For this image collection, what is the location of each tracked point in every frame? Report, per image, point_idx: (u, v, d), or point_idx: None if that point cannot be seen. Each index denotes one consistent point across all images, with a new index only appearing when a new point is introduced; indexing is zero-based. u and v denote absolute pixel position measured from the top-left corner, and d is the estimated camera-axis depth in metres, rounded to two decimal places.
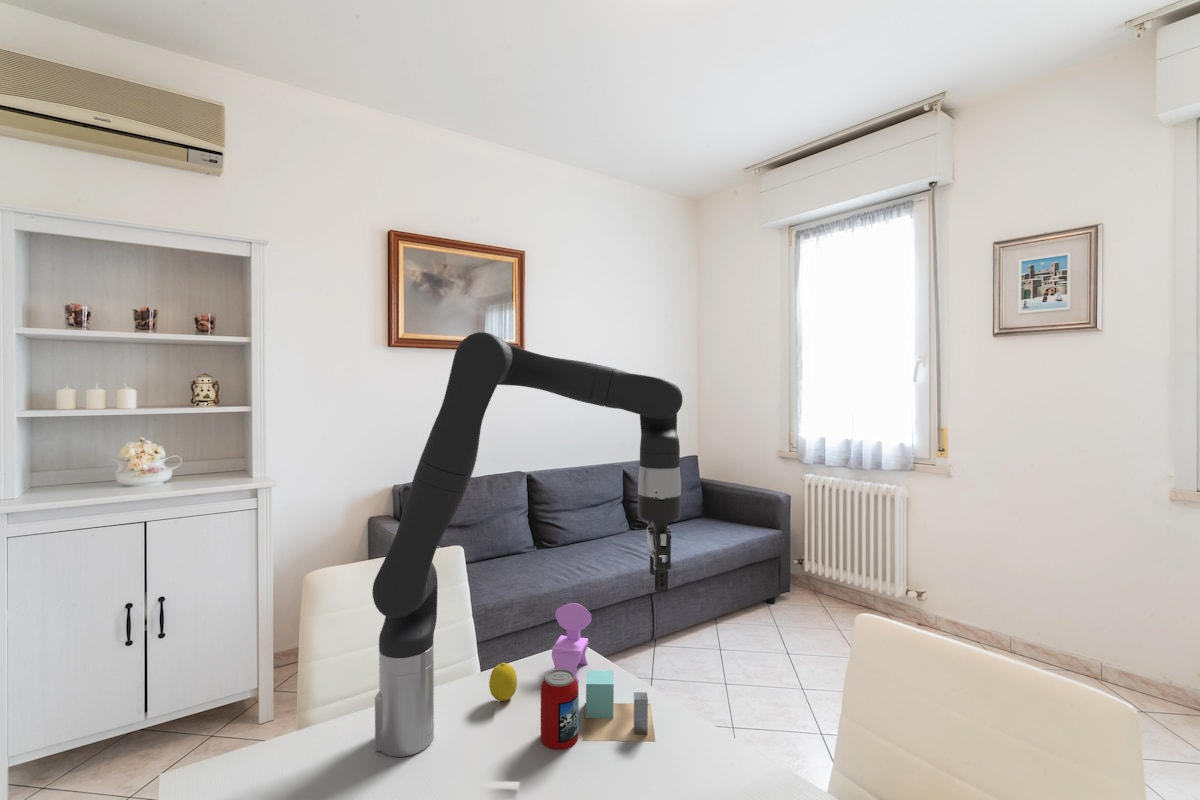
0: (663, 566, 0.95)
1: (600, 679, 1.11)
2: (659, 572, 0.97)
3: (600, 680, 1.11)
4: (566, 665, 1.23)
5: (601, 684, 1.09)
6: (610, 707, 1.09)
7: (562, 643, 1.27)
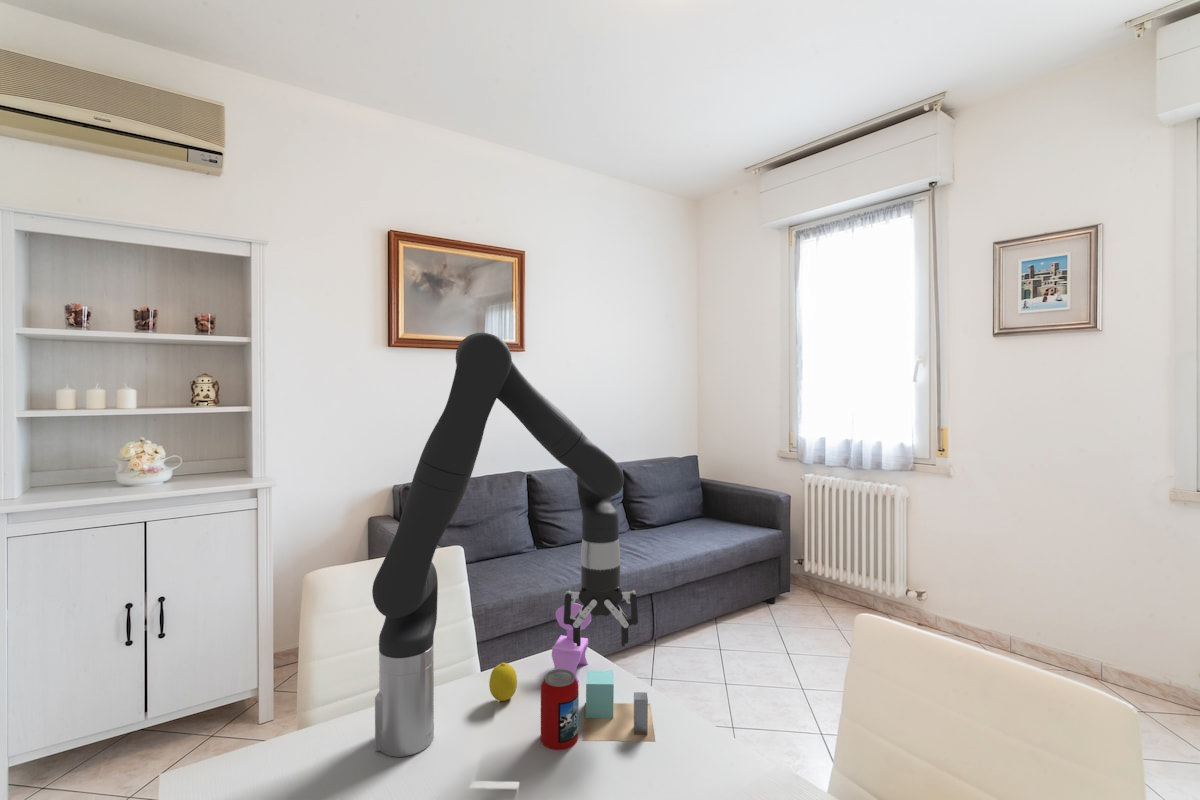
0: None
1: (600, 679, 1.11)
2: (628, 627, 1.11)
3: (600, 680, 1.11)
4: (566, 665, 1.23)
5: (601, 684, 1.09)
6: (610, 707, 1.09)
7: (562, 643, 1.27)
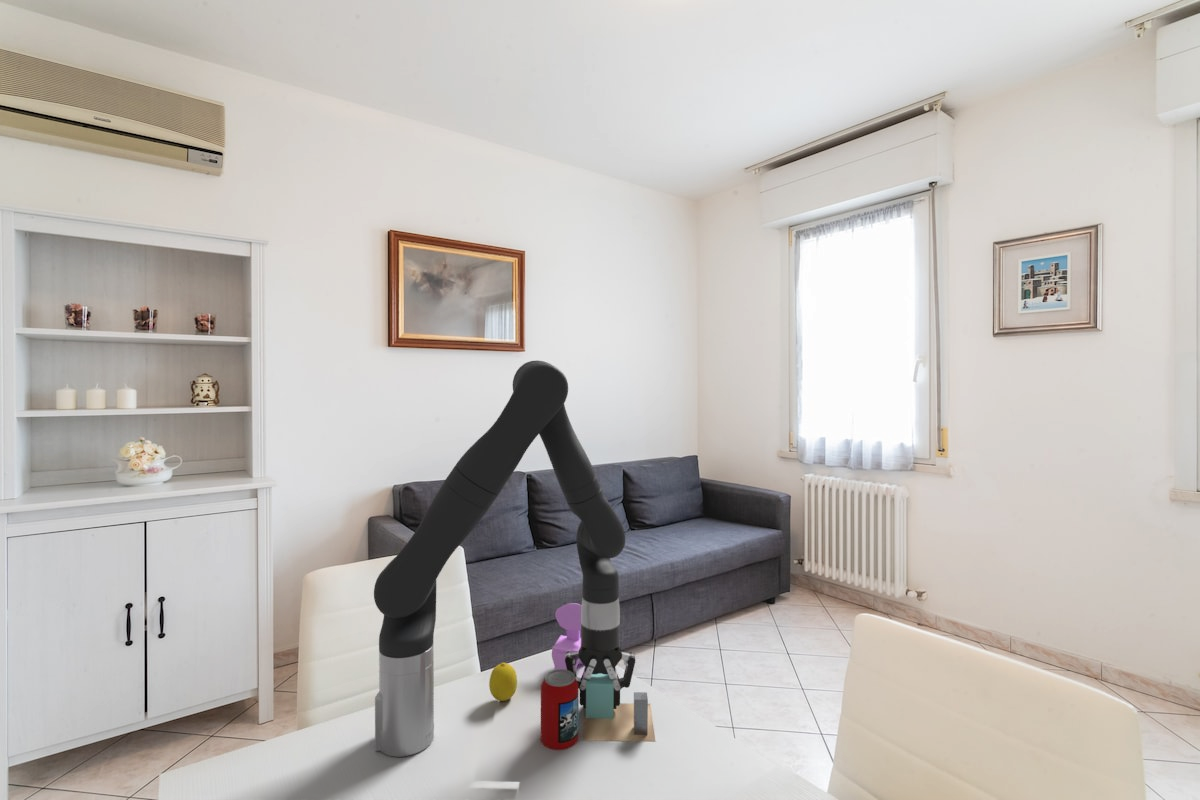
0: None
1: (600, 679, 1.11)
2: None
3: (600, 680, 1.11)
4: None
5: (601, 684, 1.09)
6: (610, 707, 1.09)
7: (562, 643, 1.27)
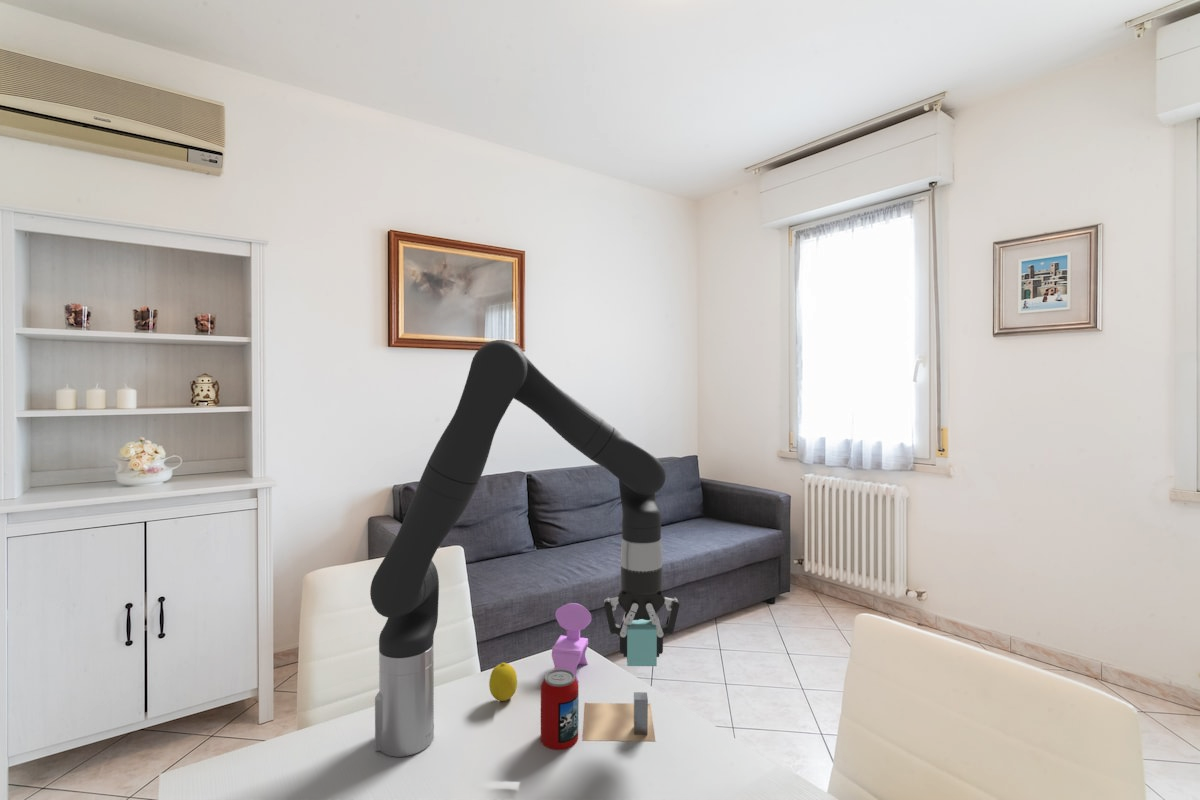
0: None
1: (642, 625, 1.04)
2: (662, 637, 1.05)
3: (642, 626, 1.04)
4: (566, 665, 1.23)
5: (643, 630, 1.03)
6: (653, 654, 1.03)
7: (562, 643, 1.27)
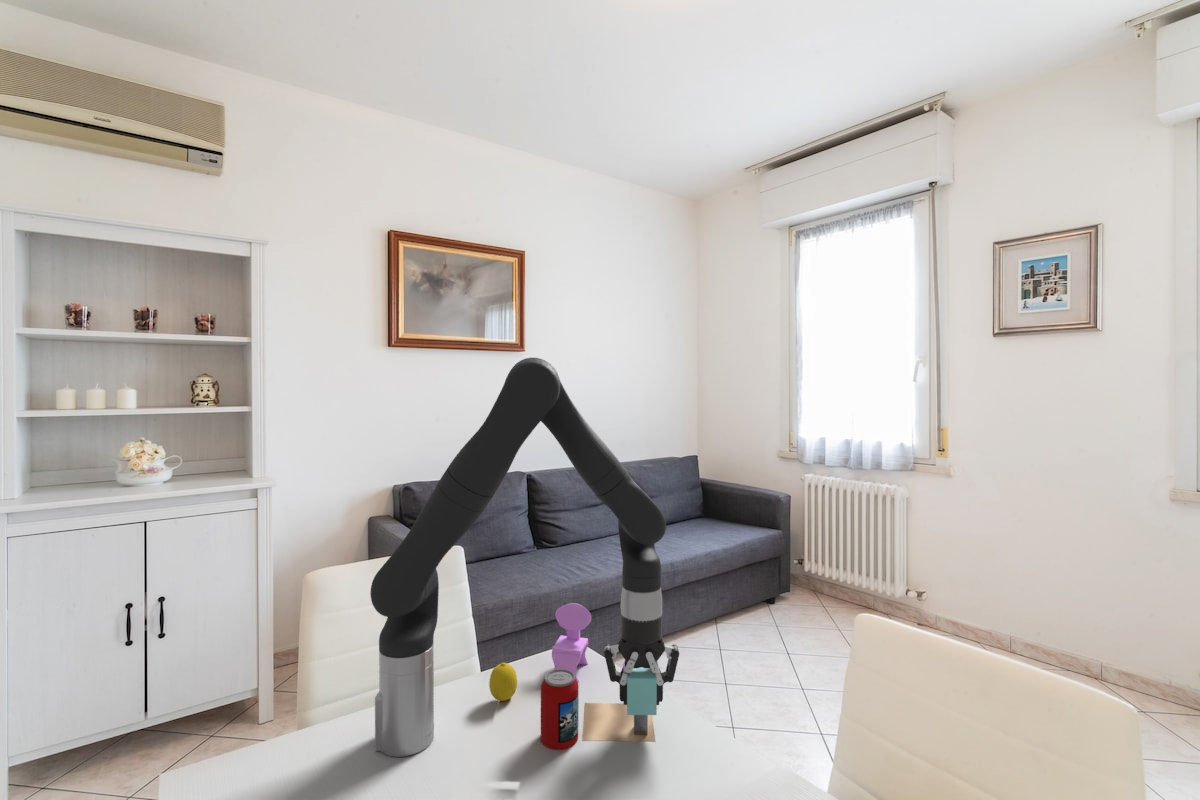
0: None
1: (642, 673, 1.04)
2: (662, 685, 1.05)
3: (642, 674, 1.04)
4: (566, 665, 1.23)
5: (643, 678, 1.03)
6: (653, 703, 1.03)
7: (562, 643, 1.27)
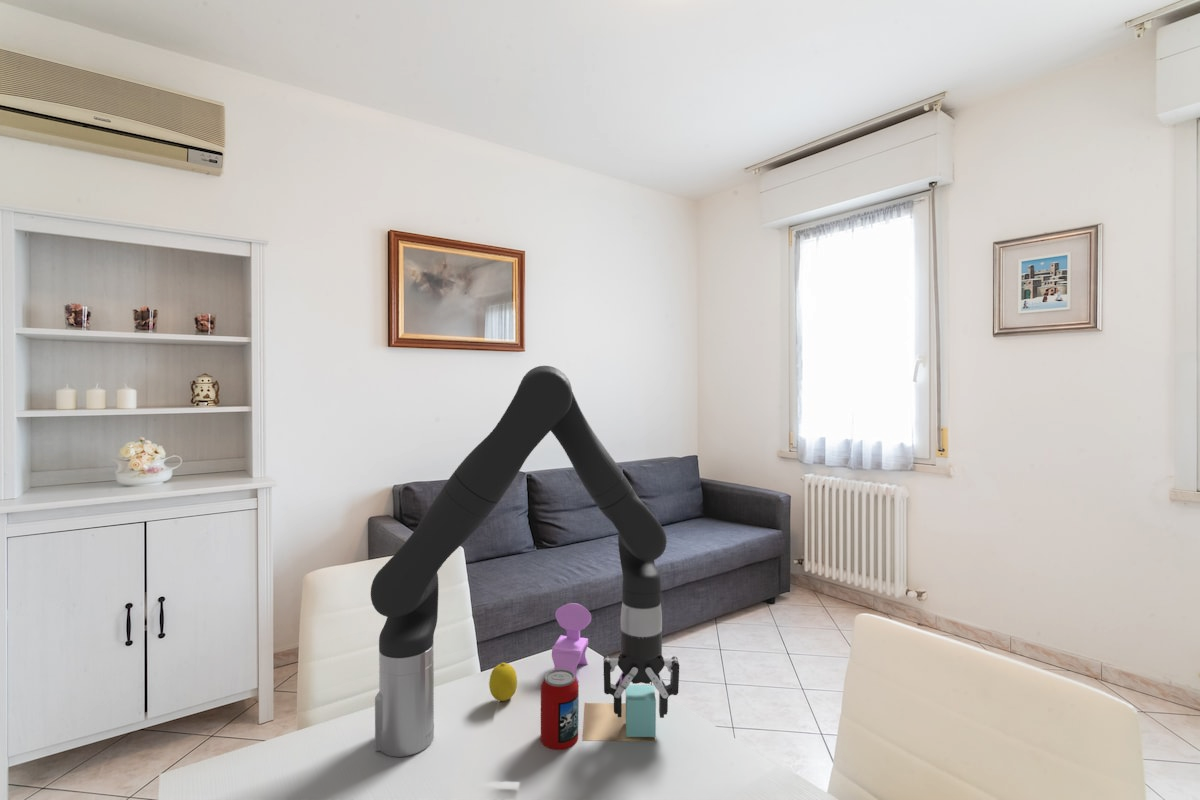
0: None
1: (641, 695, 1.05)
2: (667, 697, 1.05)
3: (641, 696, 1.04)
4: (566, 665, 1.23)
5: (642, 700, 1.03)
6: (652, 725, 1.03)
7: (562, 643, 1.27)
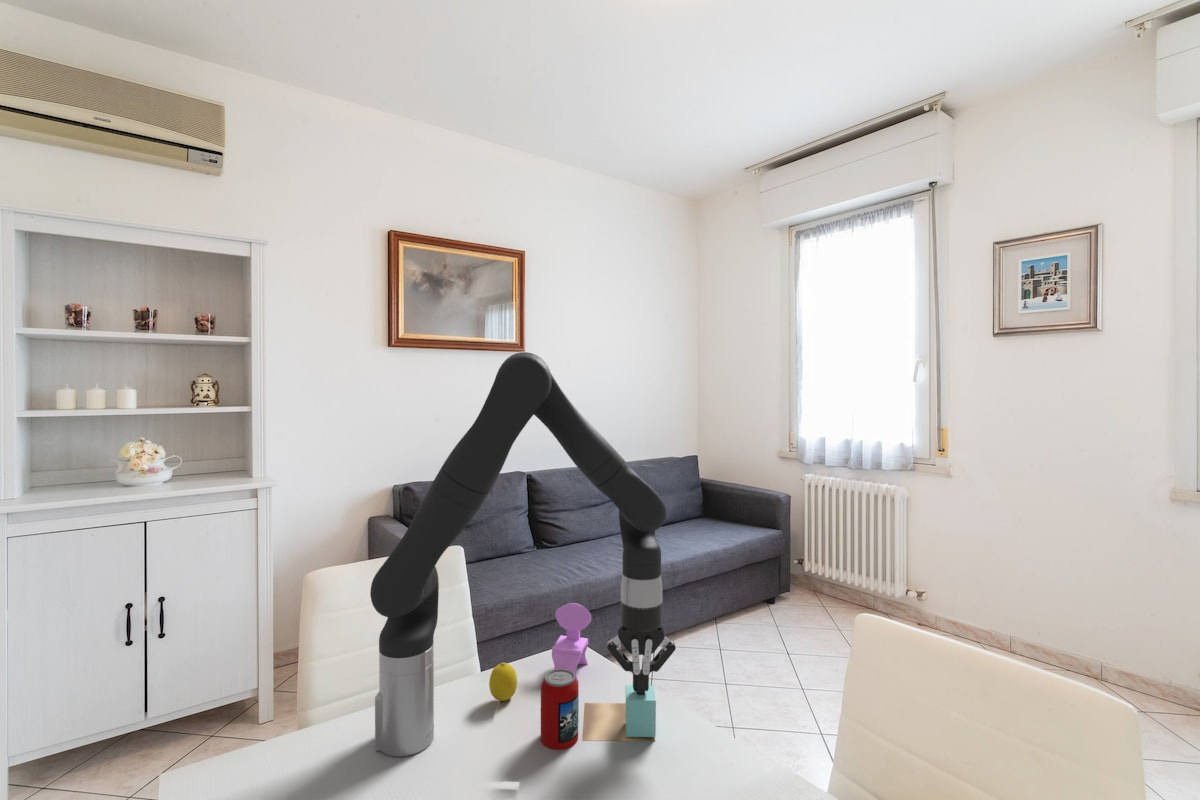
0: None
1: (641, 695, 1.05)
2: (648, 674, 1.05)
3: (641, 696, 1.04)
4: (566, 665, 1.23)
5: (642, 700, 1.03)
6: (652, 725, 1.03)
7: (562, 643, 1.27)
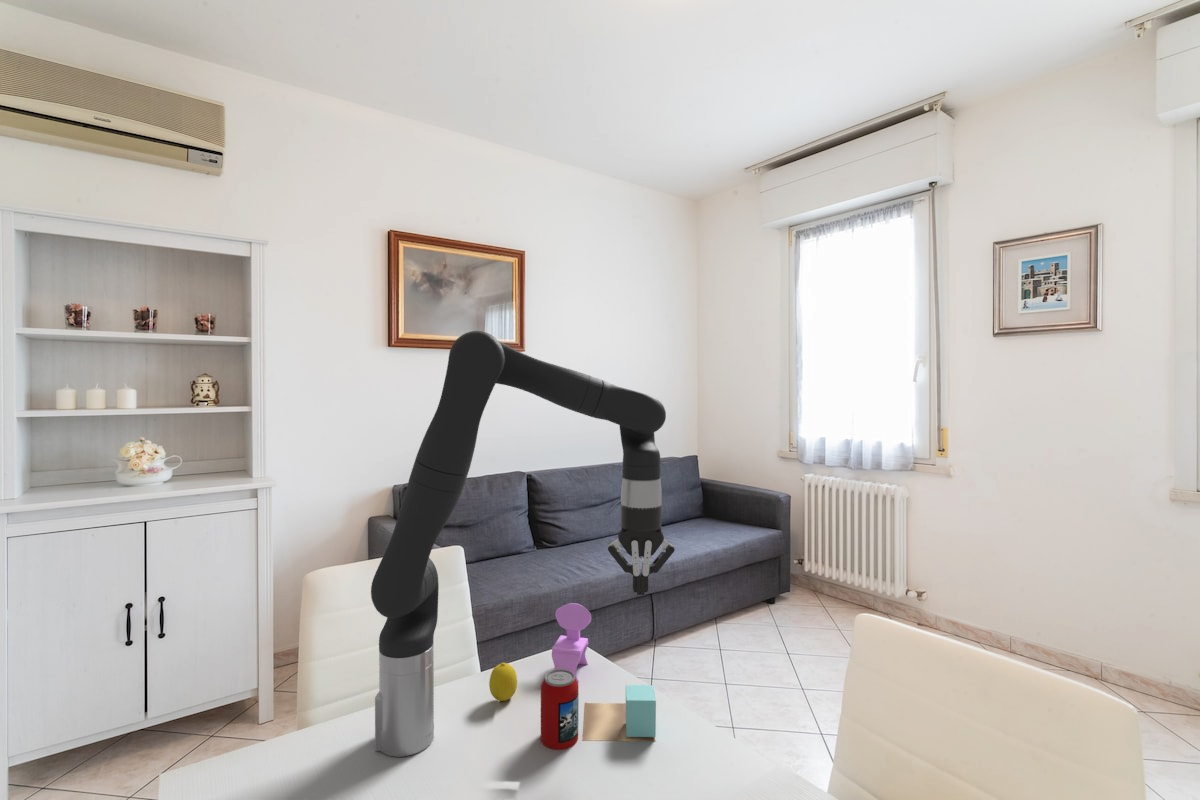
0: None
1: (641, 695, 1.05)
2: None
3: (641, 696, 1.04)
4: (566, 665, 1.23)
5: (642, 700, 1.03)
6: (652, 725, 1.03)
7: (562, 643, 1.27)
